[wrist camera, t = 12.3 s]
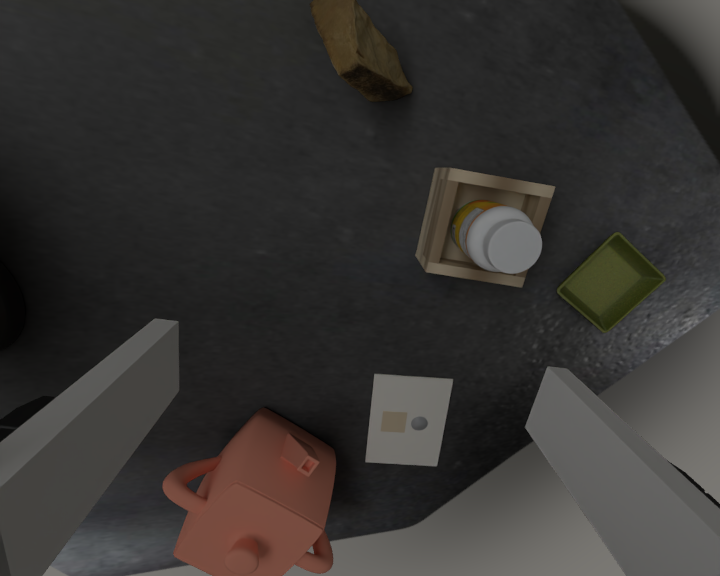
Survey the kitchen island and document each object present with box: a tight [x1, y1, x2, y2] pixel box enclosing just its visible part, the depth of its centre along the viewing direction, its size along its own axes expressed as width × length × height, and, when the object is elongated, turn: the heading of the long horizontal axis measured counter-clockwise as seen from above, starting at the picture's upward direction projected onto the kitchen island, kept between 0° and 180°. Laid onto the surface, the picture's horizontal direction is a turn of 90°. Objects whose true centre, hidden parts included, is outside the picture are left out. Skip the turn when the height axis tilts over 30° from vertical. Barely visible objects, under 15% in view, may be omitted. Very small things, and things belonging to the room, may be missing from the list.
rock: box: [310, 0, 412, 102], centre depth 30 cm, size 11×9×10 cm
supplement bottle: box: [450, 199, 542, 274], centre depth 31 cm, size 5×5×10 cm
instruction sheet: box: [365, 374, 453, 466], centre depth 47 cm, size 10×14×1 cm
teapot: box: [163, 408, 336, 576], centre depth 42 cm, size 20×22×14 cm
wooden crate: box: [416, 168, 555, 288], centre depth 36 cm, size 10×10×6 cm
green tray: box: [557, 232, 666, 333], centre depth 40 cm, size 9×9×2 cm
